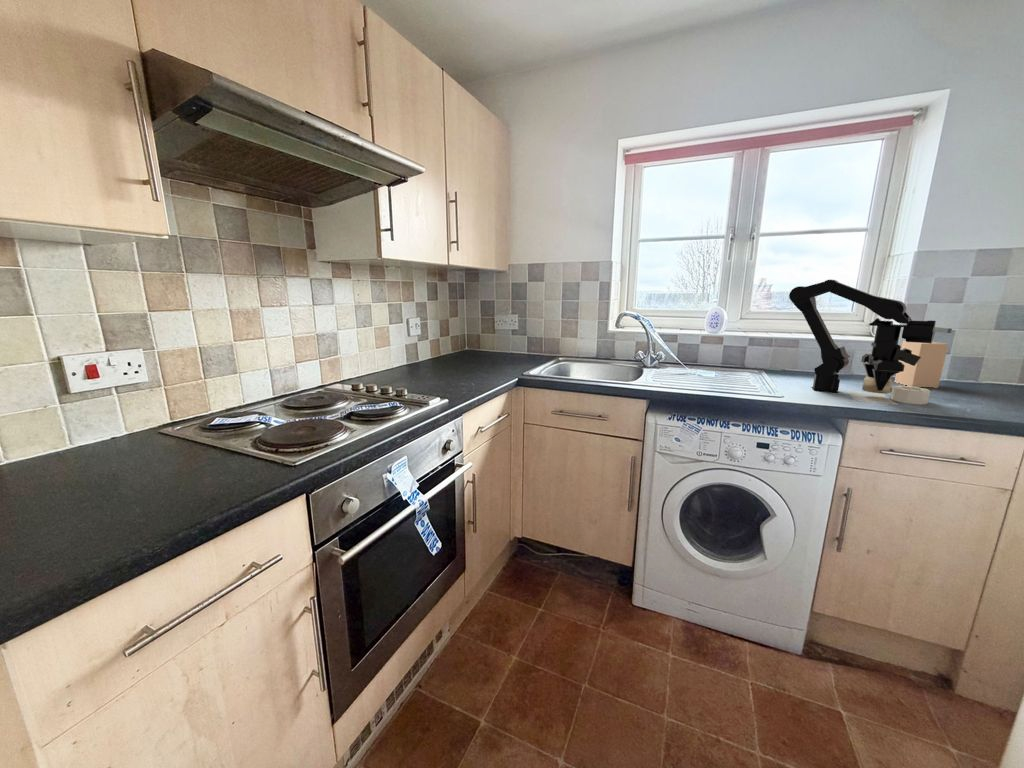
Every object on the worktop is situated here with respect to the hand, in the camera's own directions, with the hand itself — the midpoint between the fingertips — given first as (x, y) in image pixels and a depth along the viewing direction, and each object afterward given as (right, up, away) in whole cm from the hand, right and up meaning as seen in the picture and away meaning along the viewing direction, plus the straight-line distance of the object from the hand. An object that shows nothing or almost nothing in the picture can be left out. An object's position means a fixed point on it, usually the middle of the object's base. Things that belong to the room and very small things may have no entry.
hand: (876, 388), depth 131 cm
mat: (-1, -3, +1) cm, 4 cm away
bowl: (+7, -4, -3) cm, 9 cm away
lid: (0, -1, 0) cm, 1 cm away
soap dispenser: (+33, 0, +18) cm, 37 cm away
